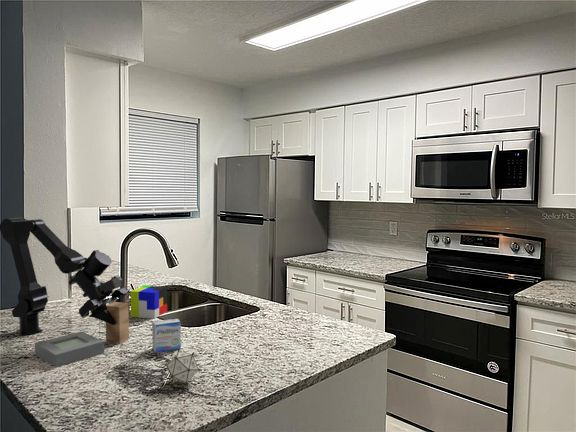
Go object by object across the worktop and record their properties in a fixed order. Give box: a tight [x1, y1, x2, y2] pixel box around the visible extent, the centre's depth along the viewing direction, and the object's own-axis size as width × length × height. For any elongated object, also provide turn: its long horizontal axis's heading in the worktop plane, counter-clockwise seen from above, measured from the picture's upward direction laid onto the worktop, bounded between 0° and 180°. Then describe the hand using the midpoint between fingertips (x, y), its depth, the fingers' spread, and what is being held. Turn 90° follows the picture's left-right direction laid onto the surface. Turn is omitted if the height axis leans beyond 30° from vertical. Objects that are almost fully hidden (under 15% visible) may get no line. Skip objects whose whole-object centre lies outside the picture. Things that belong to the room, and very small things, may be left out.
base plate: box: [34, 330, 105, 368], centre depth 132 cm, size 14×14×4 cm
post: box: [105, 302, 130, 345], centre depth 143 cm, size 5×5×12 cm
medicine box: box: [151, 318, 182, 354], centre depth 137 cm, size 8×4×9 cm, turn 117°
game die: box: [162, 349, 203, 387], centre depth 113 cm, size 9×8×10 cm
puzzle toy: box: [130, 285, 168, 320], centre depth 173 cm, size 10×10×10 cm
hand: (121, 321), depth 143 cm, fingers open, 6 cm apart
